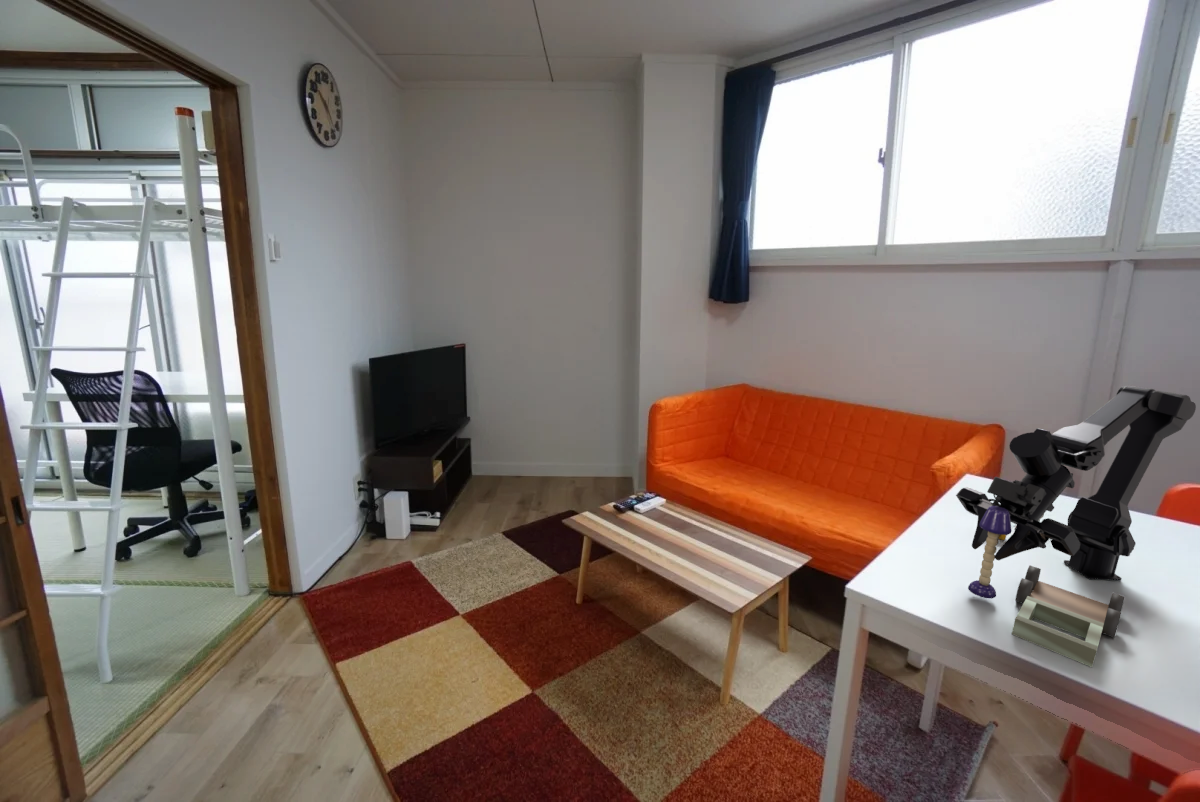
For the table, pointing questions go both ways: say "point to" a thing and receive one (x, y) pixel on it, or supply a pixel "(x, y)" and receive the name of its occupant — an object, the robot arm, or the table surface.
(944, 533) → the table surface
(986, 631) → the table surface
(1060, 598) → the chassis
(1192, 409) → the robot arm
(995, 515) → the toy lamp
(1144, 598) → the table surface
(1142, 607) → the table surface
